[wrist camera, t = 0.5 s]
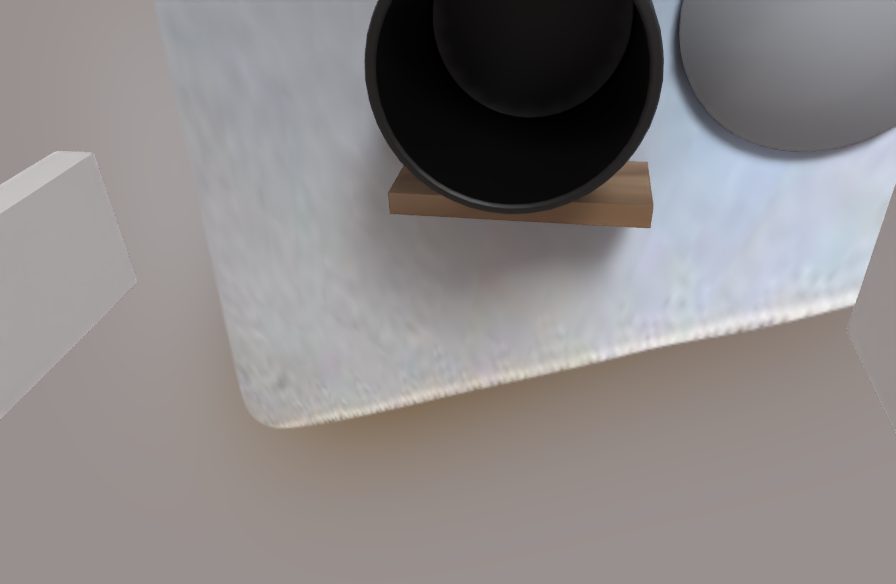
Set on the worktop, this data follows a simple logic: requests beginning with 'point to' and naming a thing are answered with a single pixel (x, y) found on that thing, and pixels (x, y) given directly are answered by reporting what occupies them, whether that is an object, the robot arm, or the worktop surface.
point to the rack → (608, 205)
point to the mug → (514, 94)
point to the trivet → (793, 68)
